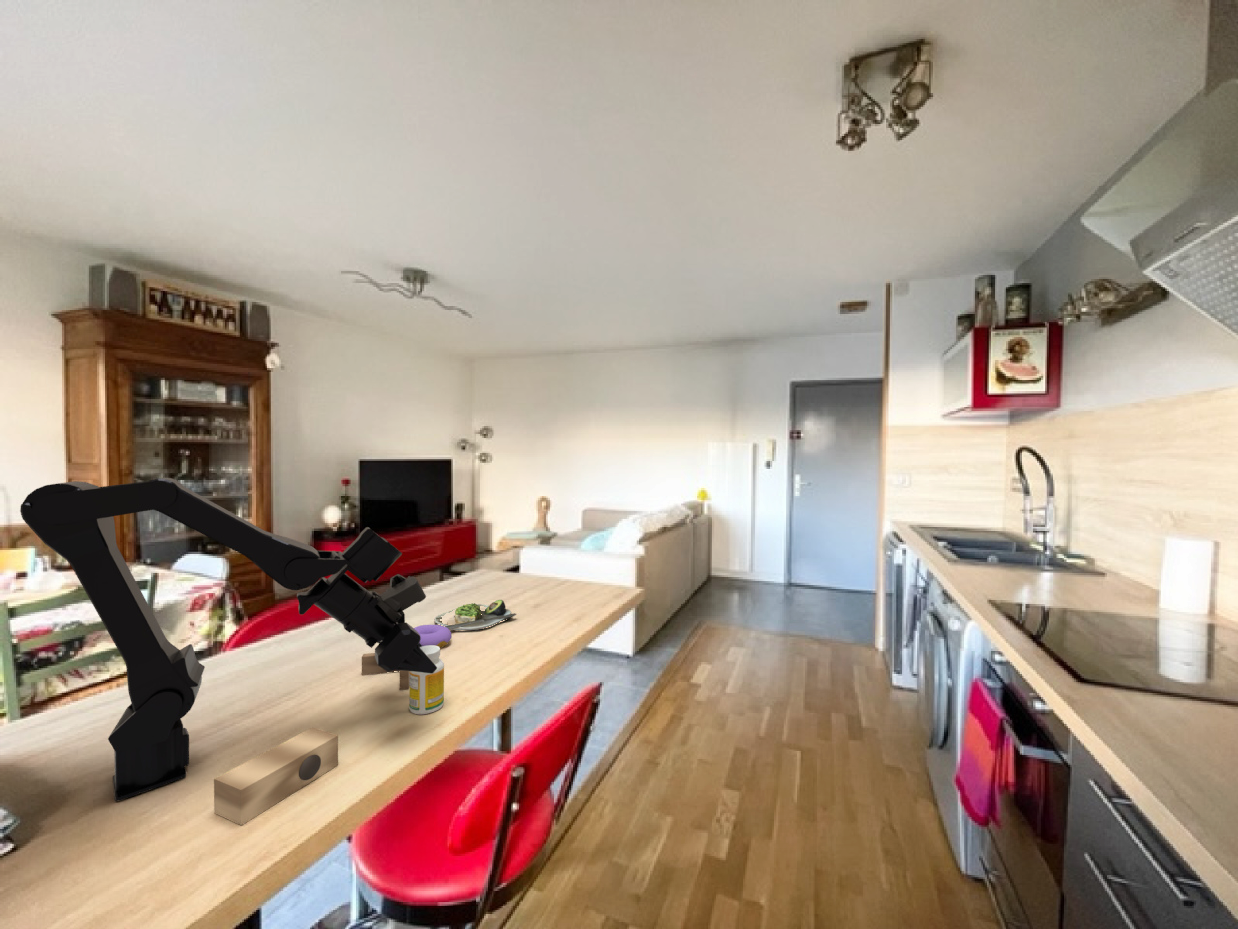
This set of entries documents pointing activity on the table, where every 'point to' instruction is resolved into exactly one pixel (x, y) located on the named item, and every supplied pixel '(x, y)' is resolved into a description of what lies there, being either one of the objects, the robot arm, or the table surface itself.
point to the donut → (433, 635)
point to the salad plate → (477, 616)
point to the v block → (382, 670)
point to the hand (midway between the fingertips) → (428, 660)
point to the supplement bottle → (427, 685)
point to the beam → (274, 775)
